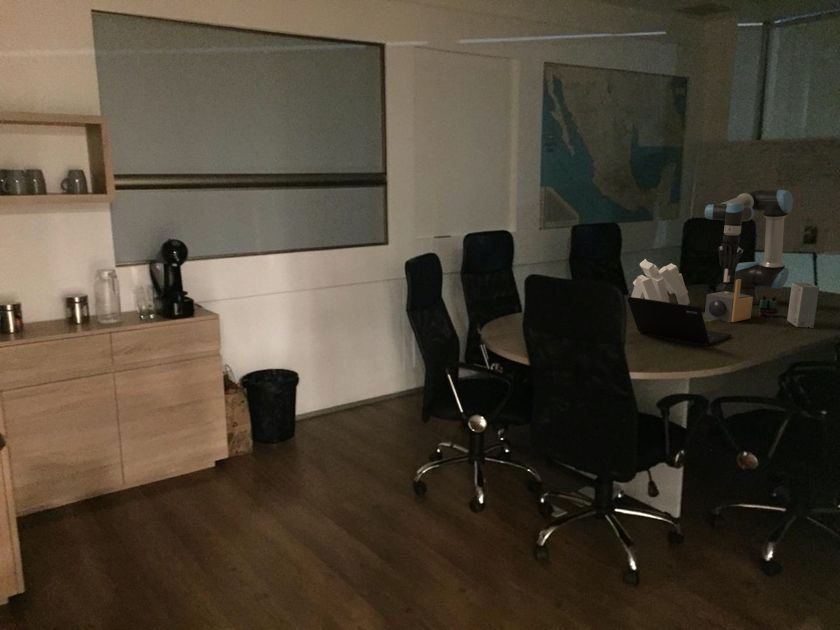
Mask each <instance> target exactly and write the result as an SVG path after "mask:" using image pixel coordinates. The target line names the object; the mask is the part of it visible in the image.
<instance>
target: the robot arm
mask: <svg viewBox="0 0 840 630" xmlns="http://www.w3.org/2000/svg"><path fill="white" fill-rule="evenodd" d="M793 206H794V199H793V194H792V193H791V192H790V191H789V190H786V189H762V188H761V189H760V188H759V189H753V190H749V191H747V192H743V193H741V194H739V195H738V196H737V197H735V198H731V199H729V200H727V201H724V202H721V203H718V204H713V203H712V204H707V205H706V206H705V209H704V217H705V219H708V220H712V221H713V220H715V221H716V220H718V221H719V220H720V221H724V229H723V235H722V244H721V246H718V247H717V248H716V250H717V252H718V261H719V267H721V268H723V271H722V275H723V283H730V279H731V276H732V274H733V270H734V269H735V271H734V272H735V273H734V283H733V289H732V291H731V293H734V292H735V284H736V280H738V279H741V286H740V294H744V295H750V297H753V302H752V306H753V305H754V306H755V305H758V304H759V296H758V291H757V287H764V288H770V289H782V288H783V287H784V286H785V285H786V283H787V281H788V279H789V274H790V273H789V272H790V270H789V268H788V267H786V265H785V264H786V263H785V262H784V261H783V249H784V248H783V247H784V231H785V230H784V229H785V219H786V218H787V217H788V215H789V213H791V211H792V210H793ZM755 212H763V217H764V218H765V219H766V221H765V236H764V237H765V241H764V256H763V257H764V258H763V259H764V260H763V261H762V262H758V261H750V262H749V261H748V262H744V261H743V262H739V261H740V259H741V257H742V255H743V253H744V249H742V248H741V247H740V243H741V242H740V241H741V233H742V224H743V223H742V222H748V221H750V220H752V219H753V218H754V215H755ZM760 263H761V264H760Z"/></svg>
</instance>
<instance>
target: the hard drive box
mask: <svg viewBox="0 0 840 630" xmlns="http://www.w3.org/2000/svg"><path fill="white" fill-rule="evenodd" d="M819 292H820V287H819V286H816V285H815V284H811V283H809V282H796V281H794V282H792V283H791V288H790V294H789V295H790V296H789V303H788V311H787V320H786V321H787V322H789V323H790V324H792V325H793V326H794V327H796V328H808V327H809V329H813V328H815V319H816V318H815V317H816V314H817V306H818V298H819Z"/></svg>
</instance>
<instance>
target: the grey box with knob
mask: <svg viewBox="0 0 840 630" xmlns="http://www.w3.org/2000/svg"><path fill="white" fill-rule="evenodd" d="M747 297H750V295H744V294H740V295H739V299H741V298H747ZM705 298H706V299H705V307H704V309H705V310H704V318H705V317H709V318H708V319H710V318H713V319H712V320H715V319H716V321H720V320H721V321H722V322H725V321H726V322H727V323H732V322H731V318H732V310H733V301H734V293H732V291H731V292H730V291H725V290H724V291H720V292H714V293H713V292H711V293H706V297H705ZM721 321H720V322H721Z"/></svg>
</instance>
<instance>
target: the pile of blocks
mask: <svg viewBox="0 0 840 630" xmlns="http://www.w3.org/2000/svg"><path fill="white" fill-rule="evenodd" d="M639 266H640V268H641V269H642V271H643V273H644V275H643V274H640V275H638V276H637V278H635V279H634V281H633V282H632V284H633V285H634V287H633V290H632V293H631V296H630V297H635V298H642V299H649V300H656V301H663V302H669V303H671V301H670V297H669V295H672V294H675V297H676V300H677V304H683V305H689V304H690V303H691V302H690V297H689V295H688V293H689V291H688V290H687V287H686V284H685V281H684V278H683V275H682V274H683V273H680V272H679V268H678V266H677V265H675V264H673V263H669V264H667V265H666V266H665V265H664V266H663V267H662V268H659V267H658V266H657V265H656V264H654V263H652V262H649V261H648V259H646V258H644V259H643V260H642V261H641V262H640V263H639ZM668 293H669V294H668Z"/></svg>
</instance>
